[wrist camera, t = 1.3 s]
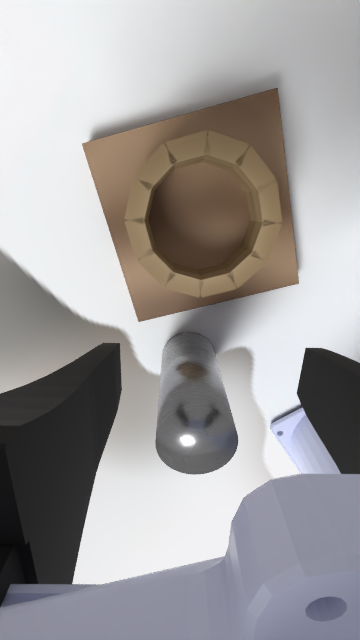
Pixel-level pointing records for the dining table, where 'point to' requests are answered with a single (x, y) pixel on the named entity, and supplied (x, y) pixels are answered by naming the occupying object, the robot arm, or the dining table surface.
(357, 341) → the dining table surface
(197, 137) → the socket block
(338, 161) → the dining table surface
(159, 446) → the steel pin
